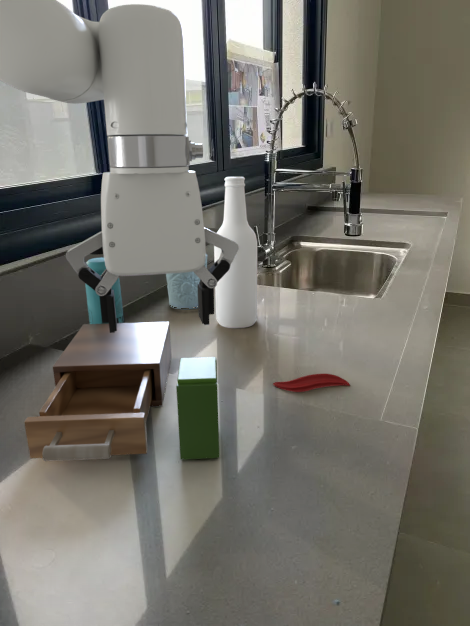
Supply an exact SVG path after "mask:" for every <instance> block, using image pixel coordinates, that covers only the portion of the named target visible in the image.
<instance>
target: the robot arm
mask: <svg viewBox="0 0 470 626" xmlns="http://www.w3.org/2000/svg"><path fill="white" fill-rule="evenodd" d="M185 62H186V61H185V38H184V28H183V24H182V22H181V20H180V19H179V17H178V16H177V14H175V13H174V12H173V11H171V10H170V9H167V8H165V7H161V6H157V5H151V4H142V3H141V4H139V3H137V4H136V3H133V4H132V3H131V4H122V5H116V6H114V7H111V8H109V9H107V10H105V11H104V12H103V13H102V15H101V16H100V19H99V21H93V20H90V19H87V18H84V17H82V16H80V15H78V14H76V13H75V12H73V11H72V10H70V9H69V8H68V7H67V6H66V5H64V4H63V3H61V2H60V1H58V0H0V82H2V83H4V84H6V85H8V86H10V87H12V88H14V89H16V90H19V91H20V92H21V91H22V92H23V93H26V94H27V93H28V94H31V95H35V96H39V97H44V98H48V99H50V100H53V101H56V102H61V103H65V104H75V105H76V104H77V105H78V104H85V103H86V104H87V103H92V102H97V101H103V105H104V114H105V115H104V117H105V124H106V125H105V127H106V136H107V137H106V138H107V148H108V162H109V171H106V172H103V173H102V179H101V187H100V188H101V189H100V190H101V191H100V217H101V231H99V232H97V233H96V234H94V235H92V236H90V237H88V238H86V239H85V240H83V241H82V242H80V243H78V244H76V245H74V246H72V247H71V248H69V249H67V251H66V253H65V258H66V260H67V262H68V263H69V265H70V266H71V267H72V268H73V271H74V272H75V273H76V274H77V276H78V278H79V280H80V281H82V282H83V283H84V284H85V283H86V284H87V285H88V286H89V287H91V288H92V289H93V290H95V291H96V293H97V294H98V295H99V297H100V307H101V317H102V323H109V330H110V333H115V331H117V319H116V308H115V297H114V290H112V288H111V287H112V286H113V285H114V283H115V282H116V281H117V279H118V278H119V279H120V277H134V276H135V277H136V276H153V275H154V276H155V275H166V274H170V273H184V272H192V271H193V272H194V273H195V274H196V275H197V276H198V277H199V278H200V282H199V284H198V308H197V310H198V311H197V313H198V318H199V320H200V322H201V324H202V325H204V326H210V315H215V287H216V286H217V282H218V281H219V280H220V279H221V278H222V277H223V276H224V275H225V274H226V273H227V272H228V270H229V269H230V265H231V263H232V262H233V260H234V258H235V256H236V253H237V251H238V249H239V246H238V244H237V243H235V242H234V241H232V240H230V239H228V238H226V237H224V236H222V235H219V234H217V232H215V231H214V230H211V229H209V228H206V227H205V224H204V214H203V205H202V200H201V199H202V198H201V193H200V186H199V182H198V178H197V177H198V176H197V173H196V171H195V170H189V169H190V167H189V166H190V165H191V162H193V161H194V160H196V159H203V158H204V146H203V143H195V142H192V140H190V136H188V118H187V117H188V114H187V92H186V91H187V89H186V88H187V87H186V65H185V64H186V63H185ZM206 243H207V244H209V245H212V246H213V247H214V246H216V247H218V248H220V249H221V251H222V252H221V254H220V257H219V259H218V260H217V261H216V262H215V261H214V263H213V264H212V265H211V266H210V267H209V268H208V267H207V268H206V267H205V265H204V264H205V260H206V254H207V251H206V250H207V246H206ZM101 247H103V254H102V255H103V258H104V260H105V266H106V270H105V271H104V272H103V273H102V275H101V276H100V275H99V274H97V273H96V272H95V271H94V270H92V269H91V268H90V267H89V266H88V265H87V263H86V262H87V261H86V260H85V258H86V257H87V256H88V255H91V254H90V253H92V252H94V251H96V250H97V249H99V248H101Z"/></svg>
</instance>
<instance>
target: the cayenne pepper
mask: <svg viewBox="0 0 470 626" xmlns="http://www.w3.org/2000/svg"><path fill="white" fill-rule="evenodd" d="M272 385H273V386H274V387H276V388H278V389H280V390H283V391H287V392H292V393H304V392H305V393H306V392H309V391H312V390H316V389H320V388H328V387H338V386H339V387H340V386H346V387H347V386H349V387H350V386H351V383H350V382H348V381H347V380H346V379H344V378H342V377H341V376H339V375H335V374H332V373H313V374H308V375H303V376H301V377H297V378H294V379H290V380H287V381H286V380H285V381H274V382H272Z"/></svg>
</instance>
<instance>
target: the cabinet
mask: <svg viewBox="0 0 470 626" xmlns="http://www.w3.org/2000/svg"><path fill="white" fill-rule="evenodd" d="M170 326H171V325H170V321H149V322H147V321H146V322H145V321H144V322H125V323H117V331H115V333H110V330H109V324H89V323H84V324H82V326H81V327H80V328H79V330H78V331H77V332H76V334H75V335H74V337H72V340H71V341H70V342H69V344H68V345H67V346H66V347H65V349H64V351H63V352H62V353H61V354H60V356H59V357H58V358H57V360H56V361H55V362H54V364H53V365H52V372H53V379H54V388H55V387H56V385H57V384H58V382H59V381H60V379H61V378H62V376H63V375H64V373H65V372H79V371H109V370H139V369H153V374H154V392H153V396H152V401H151V405H150V408H151V407H163V405H164V399H165V394H164V393H166V389H167V383H168V378H169V373H170V368H171V367H170V366H171V363H172V345H171V328H170ZM167 377H168V378H167ZM166 382H167V383H166ZM165 387H166V388H165Z"/></svg>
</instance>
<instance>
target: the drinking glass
mask: <svg viewBox="0 0 470 626" xmlns="http://www.w3.org/2000/svg"><path fill="white" fill-rule="evenodd" d="M204 265H205V267H206V268H207V269H208V254H207V253H206V260H205V264H204ZM165 277H166V278H165V279H166V283H167V287H166V288H167V294H168V304H169V306H170V305H171V306H170V307H171V308H172V309H176V310H182V309H181V308H189V309H188V310H194V309H198V307H197V306H198V284H199V282H200V278H199V277H198V276H197V275H196V274H195V273H194V272H193V271H192V272H184V273H170V274H165ZM172 306H173V307H172ZM174 307H177V308H174ZM193 307H196V308H193Z"/></svg>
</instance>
